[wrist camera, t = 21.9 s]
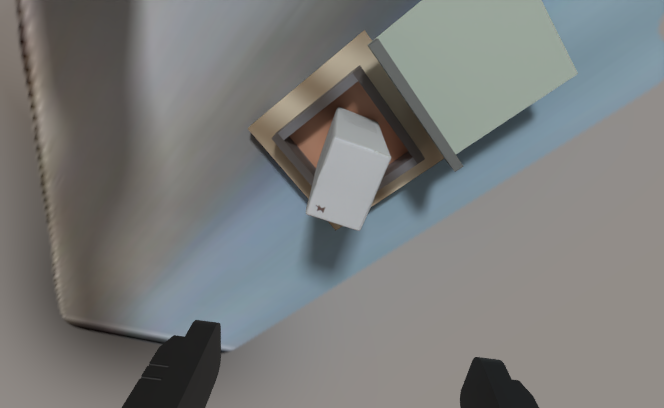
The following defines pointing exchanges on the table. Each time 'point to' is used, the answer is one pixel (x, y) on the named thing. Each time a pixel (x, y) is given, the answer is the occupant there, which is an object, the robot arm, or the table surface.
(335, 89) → the socket board
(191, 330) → the robot arm
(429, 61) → the cover
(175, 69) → the table surface
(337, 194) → the skincare box
